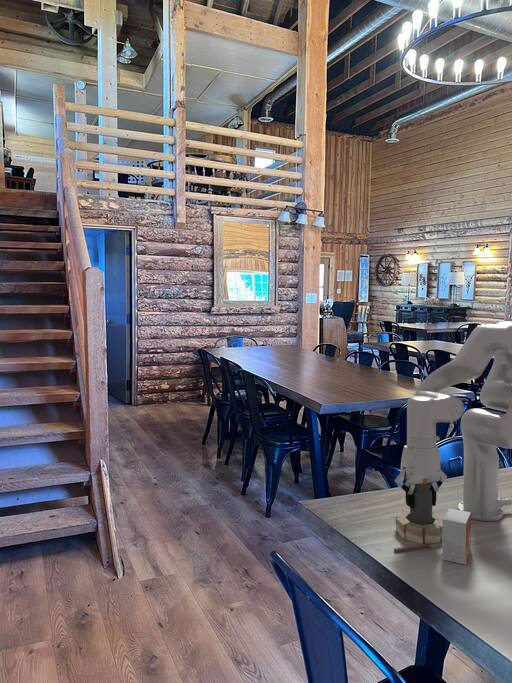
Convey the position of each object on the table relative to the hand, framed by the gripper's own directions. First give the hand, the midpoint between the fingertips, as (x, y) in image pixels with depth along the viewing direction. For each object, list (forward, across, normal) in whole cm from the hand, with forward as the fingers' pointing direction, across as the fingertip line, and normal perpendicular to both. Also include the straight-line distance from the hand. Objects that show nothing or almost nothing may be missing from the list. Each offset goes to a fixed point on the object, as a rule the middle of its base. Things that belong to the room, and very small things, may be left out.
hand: (420, 504), depth 139 cm
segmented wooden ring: (+8, 0, 0) cm, 8 cm away
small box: (+8, -2, +14) cm, 16 cm away
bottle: (+7, 0, 0) cm, 7 cm away
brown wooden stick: (+8, +7, +8) cm, 13 cm away
